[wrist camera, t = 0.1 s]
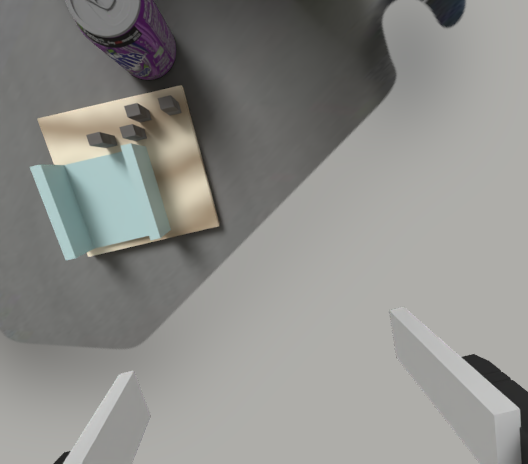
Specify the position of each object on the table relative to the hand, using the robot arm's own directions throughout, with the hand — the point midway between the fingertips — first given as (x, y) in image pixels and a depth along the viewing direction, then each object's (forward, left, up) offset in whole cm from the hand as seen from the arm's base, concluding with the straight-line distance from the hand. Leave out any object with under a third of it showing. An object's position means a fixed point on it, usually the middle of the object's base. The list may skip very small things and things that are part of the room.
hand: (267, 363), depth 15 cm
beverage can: (-26, -7, -28) cm, 39 cm away
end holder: (-10, -16, -27) cm, 33 cm away
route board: (-12, -13, -28) cm, 33 cm away
